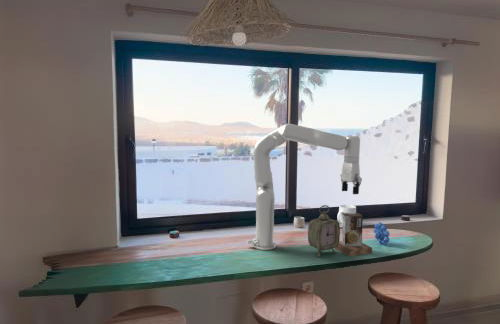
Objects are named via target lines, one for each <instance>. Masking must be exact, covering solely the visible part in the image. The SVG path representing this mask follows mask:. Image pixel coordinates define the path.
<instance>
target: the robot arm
mask: <svg viewBox="0 0 500 324" xmlns="http://www.w3.org/2000/svg"><path fill="white" fill-rule="evenodd" d="M288 141H291V142H296V143H300V144H304V145H309V146H316V147H317V146H318V147H320V148H321V147H323V148H326V149H331V150H335V151H343V150H344V153H343V154H344V156H343V163H342V167H341V174H340V180H341V192H348V190H349V186H348V185H349V184H348V183H352V185H353V186H352V195H359V192H360V186H361V185H362V181H363V178H362V177H361V173H360V172H361V170H360V151H361V148H360V147H361V138H360V137H359V136H352V135H349V136H348V135H347V136H345V135H344V136H343V135H341V134H336V133H331V132H327V131H323V130H322V131H321V130H319V129H315V128H312V127H311V128H310V127H306V126H302V125H298V124H294V123H286V124H283V125H282V126H281V127H279V128H277V129H276V130H274V131H272V132H269V133H268V134H266V135H265V136H263V137H261V138H260V139H259V140H258V141H257V142H256V144H255V146H254V148H253V154H252V155H253V169H254V170H253V171H254V180H255V187H256V195H255V197H256V198H255V222H256V223H255V237H253V239H247V240H246V244H247V245H249V244H250V245H252V247H253V248H254V249H255V250H256V249H257V250H261V251H262V250H263V251H271V250H273V249H276V248H277V243H276V242H274V237H275V236H274V233H275V231H274V230H275V229H274V225H275V218H274V216H275V192H274V181H273V172H272V170H271V169H272V168H271V159H270V158H271V157H270V156H271V155H270V154H271V153H272V151H273V150H275V149H277V147H279V146H280V147H281V146H282V145H283V144H285V143H286V142H288Z"/></svg>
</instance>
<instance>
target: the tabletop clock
mask: <svg viewBox="0 0 500 324" xmlns="http://www.w3.org/2000/svg"><path fill="white" fill-rule="evenodd" d="M325 207H326V208H328V210H327V211H326V210H323V211H321V209H322V208H325ZM329 211H330V206H329V205H327V204H325V205H324V204H323V205H321V206H320V207H319V210H318V212H319V213H320V215H319V216H318V218H314V219H312V220H310V221H309V222H308V227H307V240H308V244H309V246H310V247H312V248H316V249H317V254H316V258H319V257H321V254H320V253H322V251H329V250H332V253H333V254H336V249H335V247H337V246H338V244H339V241H340V237H341V227H340V226H341V223H339V222H338V220H334V219H332V218H330V216H329V215H328V214H327V213H329Z"/></svg>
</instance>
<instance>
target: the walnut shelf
mask: <svg viewBox="0 0 500 324" xmlns="http://www.w3.org/2000/svg"><path fill="white" fill-rule="evenodd" d="M334 250H337V251H339V252H341V253H343V254H344V255H345V256H348V257H351V256H353V257H354V256H359V255H367V254H368V255H369V254H373V247H372V246H370V245H368V244H366V243H363V242H362V246H344V244H343V243H342V240H339V244H338V246H337V247H335V248H334Z"/></svg>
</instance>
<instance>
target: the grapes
mask: <svg viewBox="0 0 500 324" xmlns="http://www.w3.org/2000/svg"><path fill="white" fill-rule="evenodd" d="M373 233H374V238H375V239H376V240H377V242H378V244H379V245H383V246H387V244H388V243H390V237H389V236H390V232H389V230H388V227H387V226H386V225H385V224H383V223H382V222H381V221H380V222H378V223H375V224H374V228H373Z"/></svg>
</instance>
